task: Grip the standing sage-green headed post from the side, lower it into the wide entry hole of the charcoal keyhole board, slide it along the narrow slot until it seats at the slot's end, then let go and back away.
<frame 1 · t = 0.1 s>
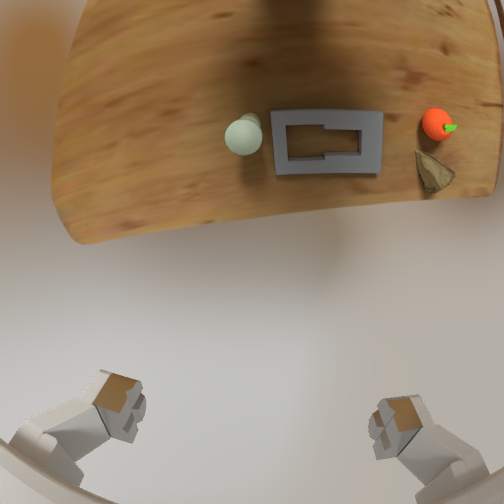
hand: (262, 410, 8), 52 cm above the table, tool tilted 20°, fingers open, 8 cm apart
keyhole board: (327, 139, 51), on the table
clementine: (431, 120, 45), on the table
rock: (424, 170, 52), on the table
sage post: (249, 123, 51), on the table
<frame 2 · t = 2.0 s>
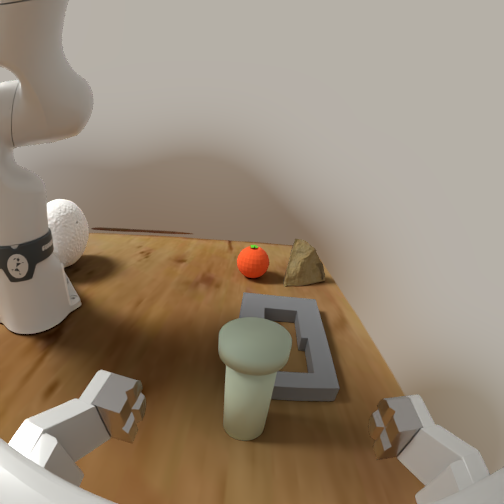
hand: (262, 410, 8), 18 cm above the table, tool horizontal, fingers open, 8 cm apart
white lumpy blob: (59, 267, 55), on the table, touching arm
keyhole board: (279, 344, 40), on the table
clementine: (251, 276, 63), on the table
rock: (304, 282, 62), on the table
sage post: (243, 424, 26), on the table
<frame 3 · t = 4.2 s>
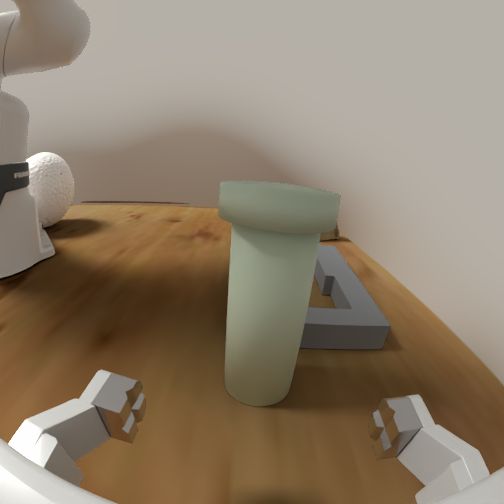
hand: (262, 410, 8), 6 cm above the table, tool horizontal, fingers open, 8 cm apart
white lumpy blob: (40, 228, 46), on the table, touching arm
keyhole board: (297, 289, 32), on the table
rock: (316, 240, 54), on the table
sage post: (257, 382, 17), on the table
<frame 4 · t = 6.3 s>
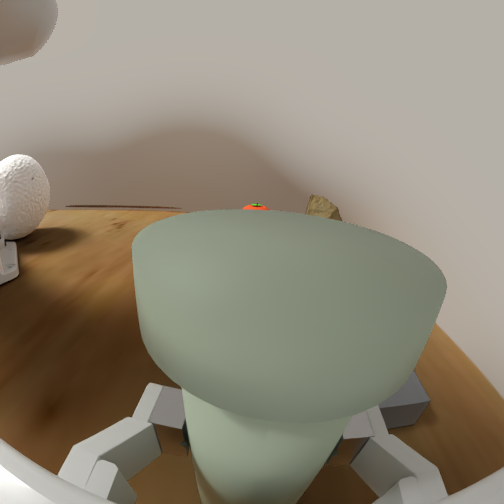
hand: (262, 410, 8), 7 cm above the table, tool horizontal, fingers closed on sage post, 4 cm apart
white lumpy blob: (14, 239, 38), on the table, touching arm
keyhole board: (304, 332, 24), on the table
rock: (324, 254, 46), on the table
sage post: (246, 495, 9), on the table, touching gripper
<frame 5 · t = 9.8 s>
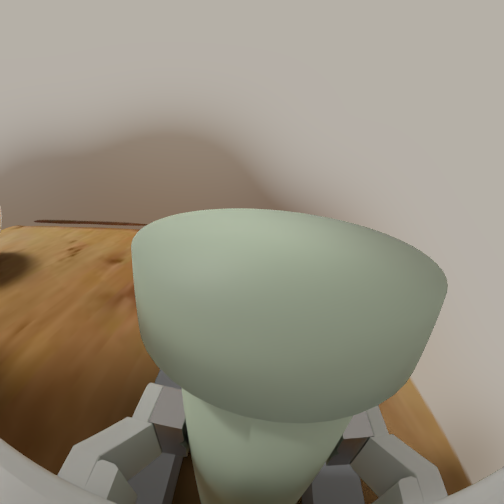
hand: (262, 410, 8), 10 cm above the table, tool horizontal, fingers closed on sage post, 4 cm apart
keyhole board: (243, 447, 15), on the table
sage post: (246, 495, 9), point 3 cm above the table, touching gripper
when the fingers open (7 cm above the table, at t = 13.5 s): sage post stays where it is, resting in keyhole board.
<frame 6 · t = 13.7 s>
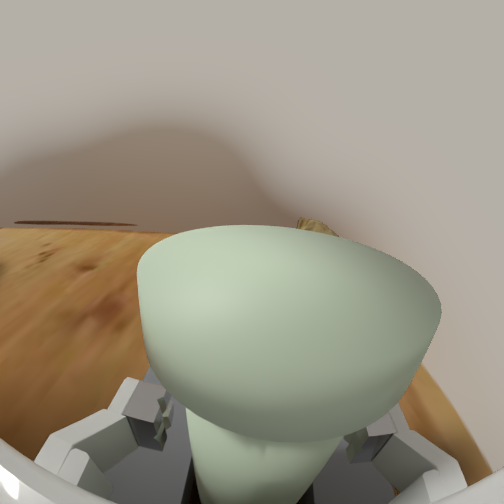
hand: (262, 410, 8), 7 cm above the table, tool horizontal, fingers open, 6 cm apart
rock: (319, 314, 28), on the table
sage post: (245, 498, 9), resting in keyhole board
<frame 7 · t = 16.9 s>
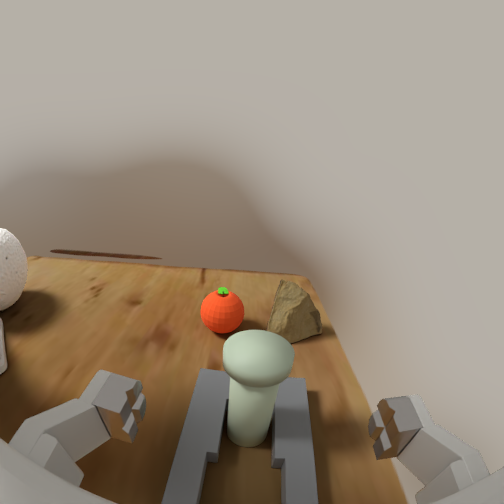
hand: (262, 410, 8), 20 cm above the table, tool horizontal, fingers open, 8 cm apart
white lumpy blob: (0, 306, 37), on the table, touching arm
keyhole board: (245, 458, 22), on the table
clementine: (221, 328, 45), on the table
rock: (293, 337, 45), on the table
sage post: (247, 431, 26), resting in keyhole board
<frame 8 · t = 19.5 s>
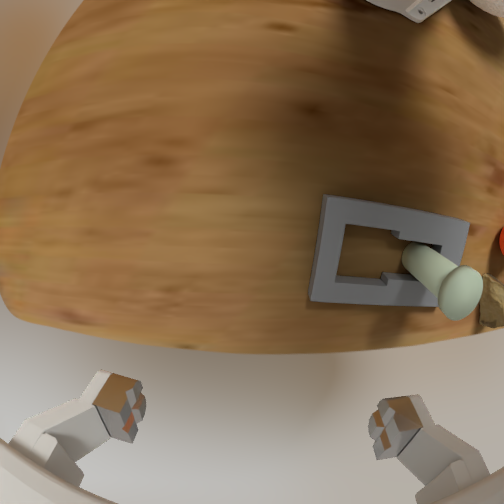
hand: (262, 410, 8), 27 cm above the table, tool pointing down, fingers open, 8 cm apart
keyhole board: (392, 254, 34), on the table
rock: (484, 298, 36), on the table
sage post: (414, 256, 34), resting in keyhole board
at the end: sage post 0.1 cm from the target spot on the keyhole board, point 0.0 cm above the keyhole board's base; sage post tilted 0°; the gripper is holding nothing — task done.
